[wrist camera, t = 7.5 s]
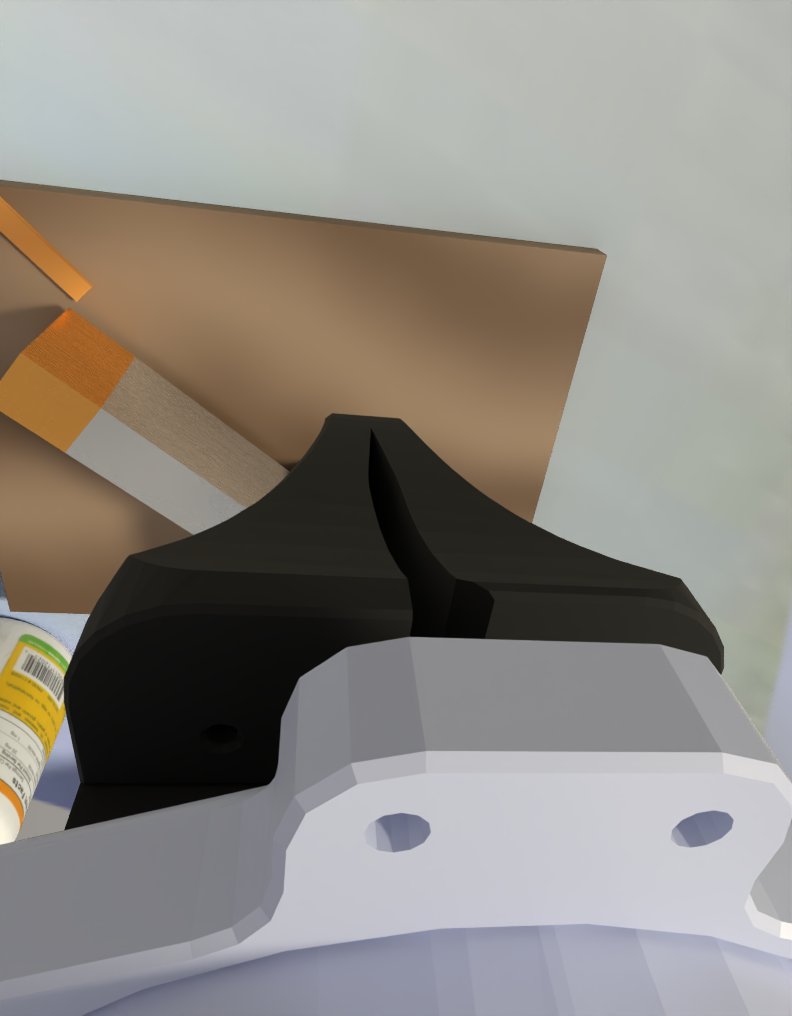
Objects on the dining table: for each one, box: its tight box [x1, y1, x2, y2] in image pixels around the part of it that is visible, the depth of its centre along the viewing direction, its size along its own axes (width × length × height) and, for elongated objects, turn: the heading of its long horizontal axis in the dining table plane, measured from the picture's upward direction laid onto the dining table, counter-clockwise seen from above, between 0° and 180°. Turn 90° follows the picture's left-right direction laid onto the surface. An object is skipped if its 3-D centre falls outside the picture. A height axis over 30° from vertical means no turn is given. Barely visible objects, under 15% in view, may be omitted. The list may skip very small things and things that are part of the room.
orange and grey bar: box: [0, 308, 289, 535], centre depth 19 cm, size 12×5×3 cm, turn 45°
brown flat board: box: [0, 180, 607, 614], centre depth 21 cm, size 14×18×1 cm
